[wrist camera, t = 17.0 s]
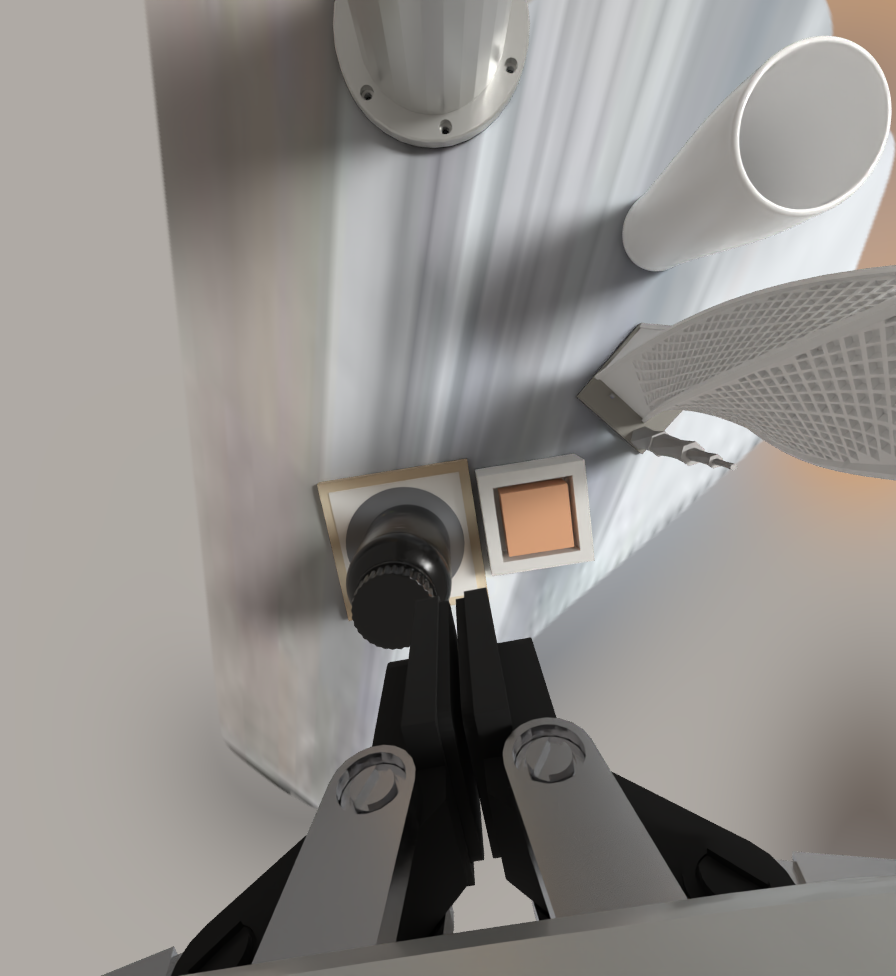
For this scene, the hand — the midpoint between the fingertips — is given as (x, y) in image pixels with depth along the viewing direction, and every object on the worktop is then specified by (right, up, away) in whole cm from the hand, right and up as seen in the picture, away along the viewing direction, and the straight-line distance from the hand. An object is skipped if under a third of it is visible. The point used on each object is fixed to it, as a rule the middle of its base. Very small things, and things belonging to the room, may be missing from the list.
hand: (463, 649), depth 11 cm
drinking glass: (+15, +22, +24) cm, 35 cm away
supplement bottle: (-4, -1, +28) cm, 28 cm away
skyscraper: (+14, +12, +26) cm, 32 cm away
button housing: (+6, +2, +28) cm, 29 cm away
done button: (+6, +2, +27) cm, 28 cm away
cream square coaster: (-4, -1, +29) cm, 29 cm away
